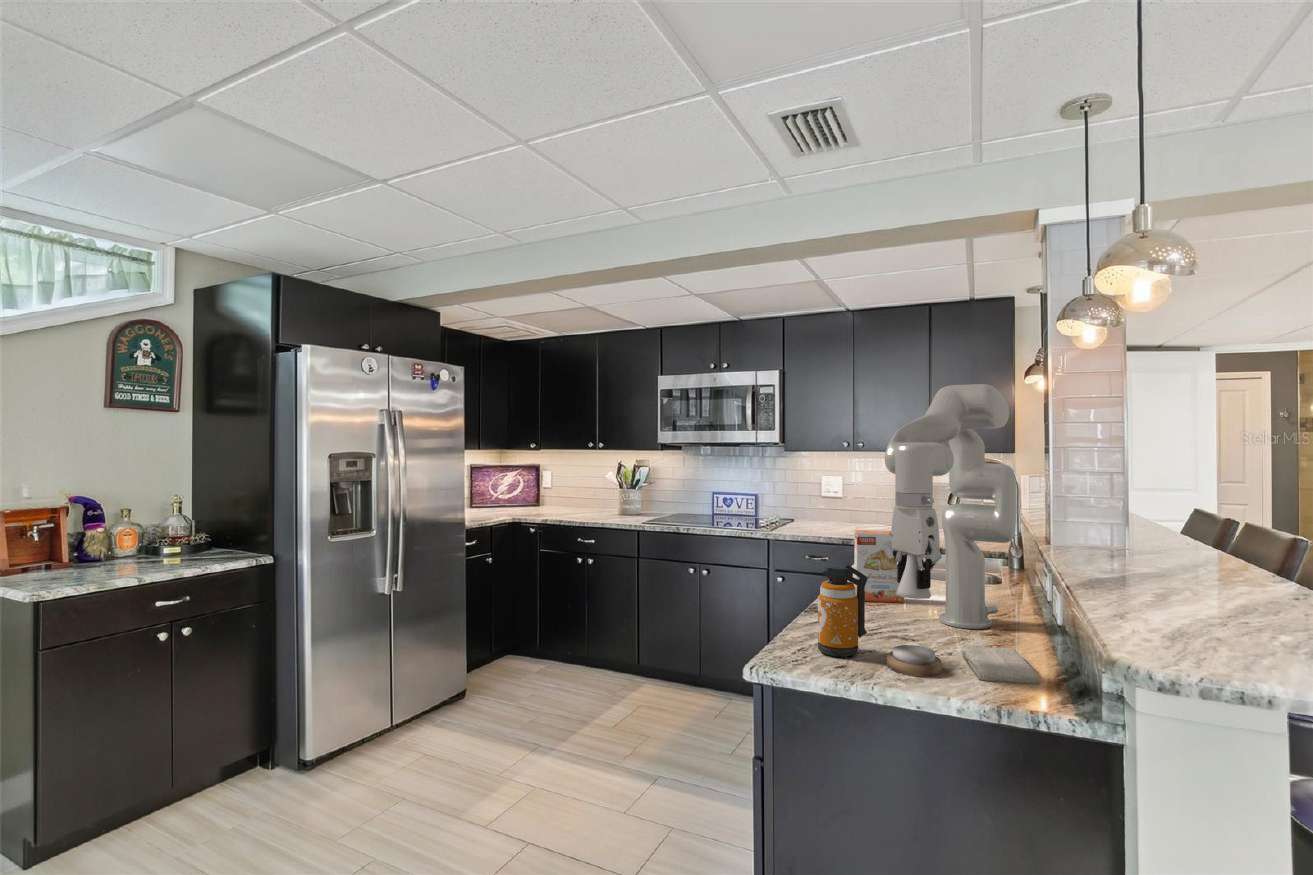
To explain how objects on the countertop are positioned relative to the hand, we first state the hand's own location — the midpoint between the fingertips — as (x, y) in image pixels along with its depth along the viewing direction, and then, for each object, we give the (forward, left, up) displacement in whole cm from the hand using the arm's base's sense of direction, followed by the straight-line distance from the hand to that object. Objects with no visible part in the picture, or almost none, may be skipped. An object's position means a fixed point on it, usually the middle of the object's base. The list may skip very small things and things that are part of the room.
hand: (913, 584), depth 145 cm
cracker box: (-32, -50, -18) cm, 62 cm away
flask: (0, 0, -3) cm, 3 cm away
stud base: (0, 0, -18) cm, 18 cm away
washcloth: (-17, +7, -19) cm, 26 cm away
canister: (+8, -14, -18) cm, 24 cm away
